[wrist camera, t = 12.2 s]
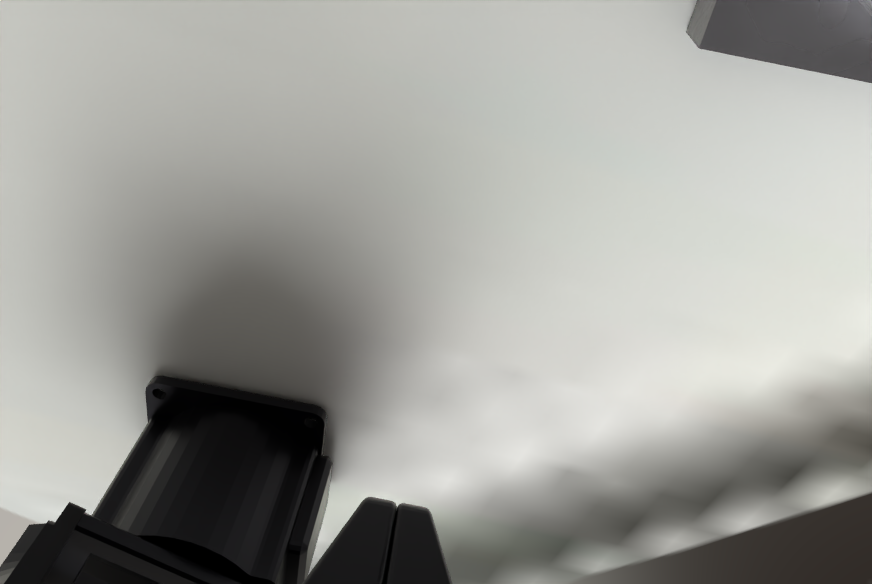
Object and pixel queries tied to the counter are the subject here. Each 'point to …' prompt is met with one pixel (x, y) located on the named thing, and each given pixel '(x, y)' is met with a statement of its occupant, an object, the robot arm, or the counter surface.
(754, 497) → the counter surface
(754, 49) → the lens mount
